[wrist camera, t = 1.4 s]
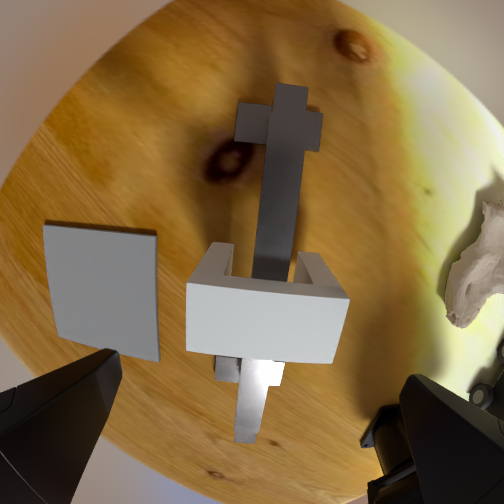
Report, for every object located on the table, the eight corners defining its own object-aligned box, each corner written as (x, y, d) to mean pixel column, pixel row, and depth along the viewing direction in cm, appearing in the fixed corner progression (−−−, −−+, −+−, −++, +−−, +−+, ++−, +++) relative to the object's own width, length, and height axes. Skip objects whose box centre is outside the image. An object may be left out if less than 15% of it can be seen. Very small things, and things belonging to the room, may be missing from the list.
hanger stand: (278, 381, 21) (284, 450, 14) (215, 375, 21) (202, 443, 14) (320, 115, 16) (357, 83, 9) (239, 104, 16) (227, 65, 9)
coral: (426, 305, 19) (454, 333, 15) (476, 185, 17) (514, 192, 12) (464, 321, 20) (491, 345, 15) (510, 215, 17) (544, 226, 13)
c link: (309, 301, 17) (331, 363, 11) (209, 290, 17) (186, 350, 11) (318, 253, 16) (349, 299, 10) (212, 241, 16) (186, 283, 10)
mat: (160, 359, 21) (159, 362, 20) (60, 334, 21) (58, 336, 20) (157, 235, 18) (155, 236, 18) (45, 224, 18) (42, 225, 18)
